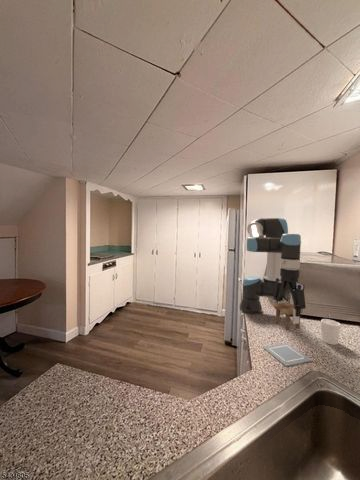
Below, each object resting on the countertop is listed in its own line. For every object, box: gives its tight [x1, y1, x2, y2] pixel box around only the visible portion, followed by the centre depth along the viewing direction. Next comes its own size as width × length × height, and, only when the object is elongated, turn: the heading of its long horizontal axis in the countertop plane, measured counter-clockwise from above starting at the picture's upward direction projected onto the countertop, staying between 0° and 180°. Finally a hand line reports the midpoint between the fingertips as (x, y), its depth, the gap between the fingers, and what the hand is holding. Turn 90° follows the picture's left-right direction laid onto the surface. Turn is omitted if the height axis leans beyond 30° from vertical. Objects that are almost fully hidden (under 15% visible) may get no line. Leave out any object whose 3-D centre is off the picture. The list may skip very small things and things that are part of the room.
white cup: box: [320, 318, 341, 346], centre depth 103 cm, size 8×8×10 cm
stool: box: [273, 302, 304, 331], centre depth 91 cm, size 8×8×9 cm
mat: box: [262, 342, 313, 367], centre depth 92 cm, size 14×14×1 cm
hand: (287, 318), depth 91 cm, fingers closed on stool, 8 cm apart
